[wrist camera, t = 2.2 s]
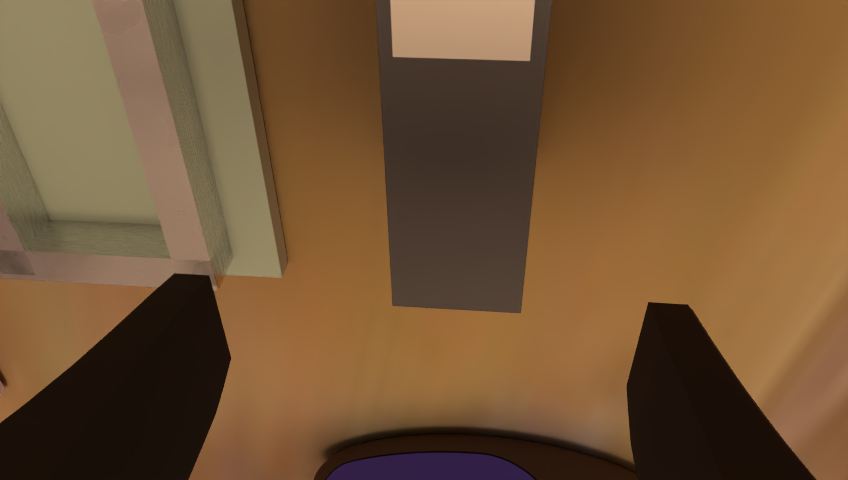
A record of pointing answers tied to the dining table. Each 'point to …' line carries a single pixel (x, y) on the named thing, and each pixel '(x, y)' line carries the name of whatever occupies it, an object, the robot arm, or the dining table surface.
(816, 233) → the dining table surface
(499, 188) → the brown block
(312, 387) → the dining table surface
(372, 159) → the dining table surface
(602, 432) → the dining table surface
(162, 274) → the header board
